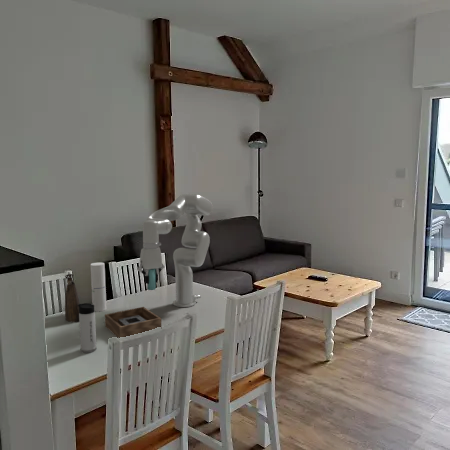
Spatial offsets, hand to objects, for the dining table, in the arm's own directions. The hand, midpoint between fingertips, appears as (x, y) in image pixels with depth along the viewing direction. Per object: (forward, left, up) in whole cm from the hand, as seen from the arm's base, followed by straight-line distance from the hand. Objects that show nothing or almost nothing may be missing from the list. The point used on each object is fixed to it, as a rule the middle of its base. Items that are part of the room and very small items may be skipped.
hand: (151, 282), depth 215 cm
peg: (0, 0, -3) cm, 3 cm away
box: (+12, +3, -20) cm, 23 cm away
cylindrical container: (+16, -33, -20) cm, 41 cm away
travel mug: (+37, +15, -20) cm, 44 cm away
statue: (+32, -25, -20) cm, 45 cm away
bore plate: (+12, +3, -20) cm, 23 cm away
